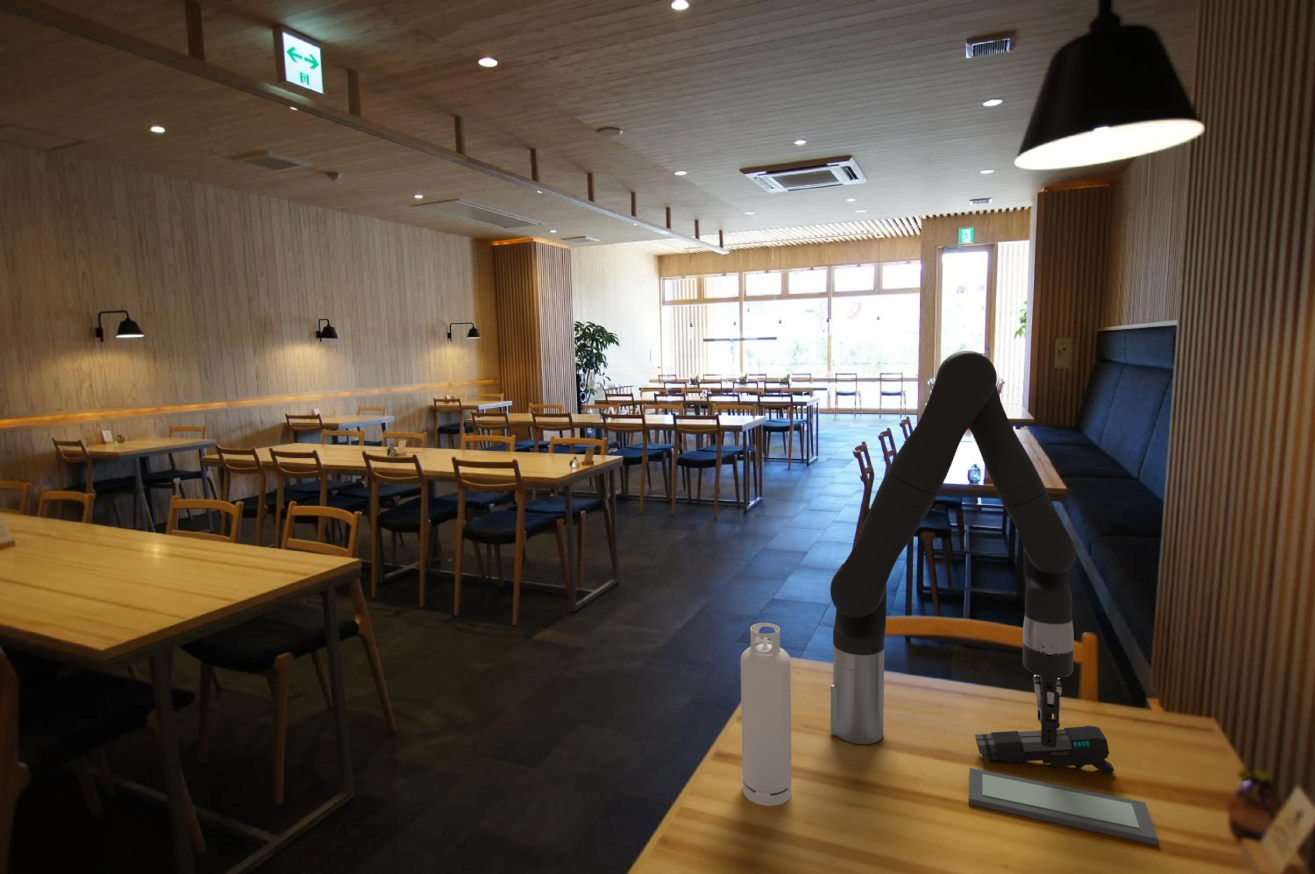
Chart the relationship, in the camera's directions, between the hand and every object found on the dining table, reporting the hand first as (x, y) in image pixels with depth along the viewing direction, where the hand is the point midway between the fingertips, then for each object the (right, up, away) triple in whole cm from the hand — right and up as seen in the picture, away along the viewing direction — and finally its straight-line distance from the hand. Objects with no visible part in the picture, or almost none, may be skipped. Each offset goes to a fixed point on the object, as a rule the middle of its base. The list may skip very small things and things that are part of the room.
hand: (1046, 733), depth 122 cm
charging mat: (-4, -7, -10) cm, 13 cm away
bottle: (-49, -8, -4) cm, 50 cm away
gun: (0, -6, +1) cm, 6 cm away
